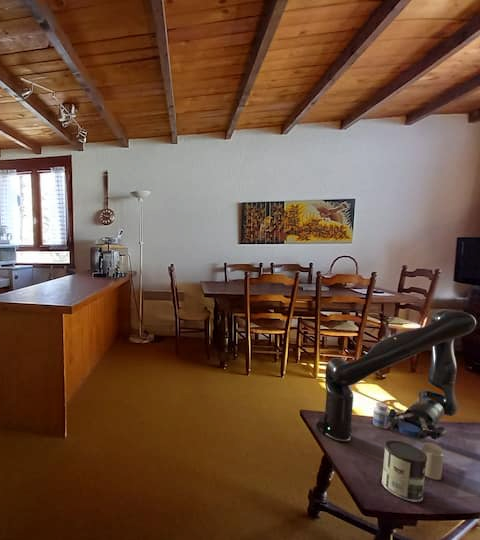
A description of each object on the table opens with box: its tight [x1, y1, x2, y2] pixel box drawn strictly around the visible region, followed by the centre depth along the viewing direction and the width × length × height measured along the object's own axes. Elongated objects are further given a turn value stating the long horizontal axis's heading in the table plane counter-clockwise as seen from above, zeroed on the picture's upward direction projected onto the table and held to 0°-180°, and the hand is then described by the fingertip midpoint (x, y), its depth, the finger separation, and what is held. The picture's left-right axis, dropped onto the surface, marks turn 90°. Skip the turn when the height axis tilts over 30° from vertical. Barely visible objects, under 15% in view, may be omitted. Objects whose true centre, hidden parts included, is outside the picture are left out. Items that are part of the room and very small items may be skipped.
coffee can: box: [381, 439, 427, 503], centre depth 101 cm, size 10×10×14 cm
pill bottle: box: [372, 402, 390, 429], centre depth 137 cm, size 6×5×10 cm
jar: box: [421, 442, 445, 481], centre depth 108 cm, size 5×5×11 cm
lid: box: [396, 422, 421, 439], centre depth 100 cm, size 6×6×2 cm
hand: (406, 430), depth 99 cm, fingers closed on lid, 5 cm apart
